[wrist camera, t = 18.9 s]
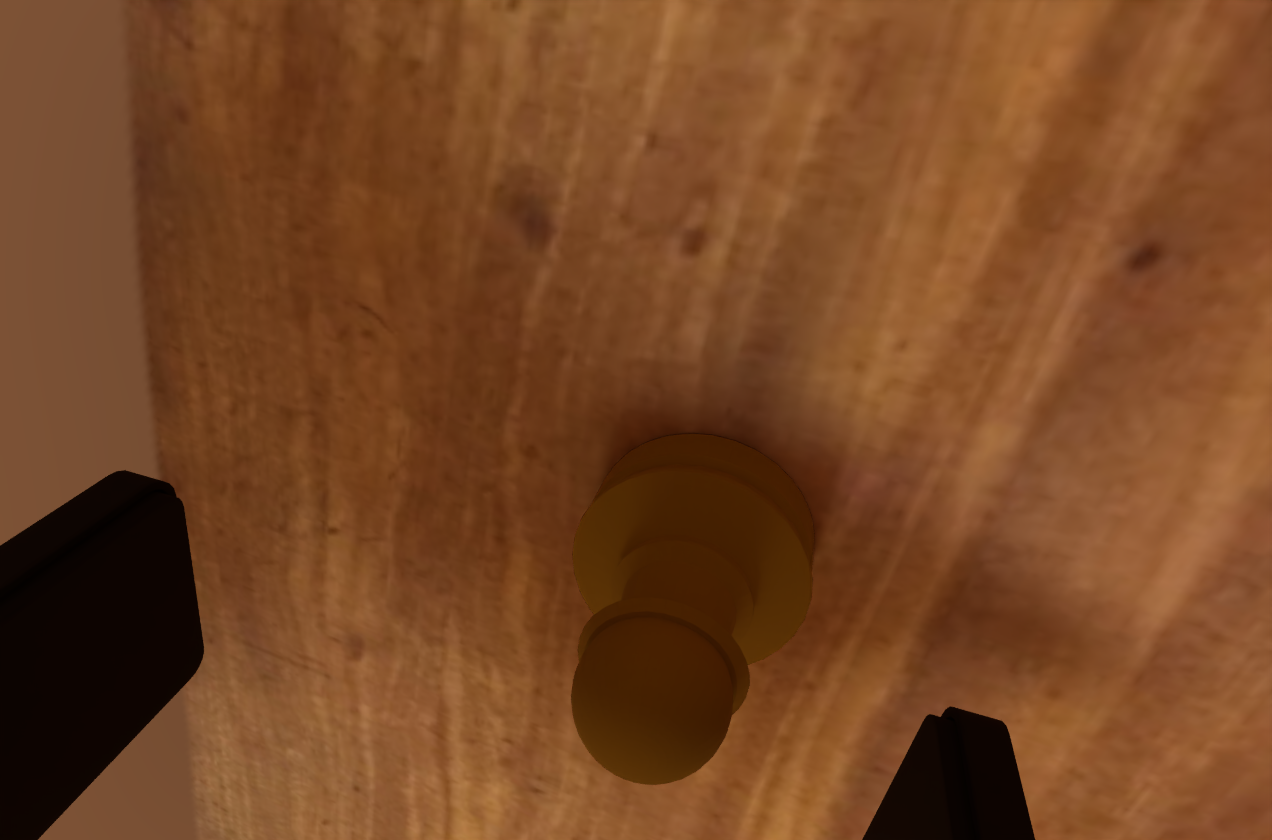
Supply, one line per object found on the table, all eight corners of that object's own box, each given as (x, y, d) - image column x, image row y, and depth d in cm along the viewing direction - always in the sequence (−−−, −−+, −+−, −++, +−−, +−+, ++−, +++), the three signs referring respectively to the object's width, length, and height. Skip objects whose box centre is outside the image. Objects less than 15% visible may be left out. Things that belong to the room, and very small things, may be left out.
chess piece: (810, 430, 13) (787, 642, 8) (820, 626, 14) (806, 891, 10) (577, 433, 14) (448, 624, 9) (612, 616, 15) (516, 850, 11)
